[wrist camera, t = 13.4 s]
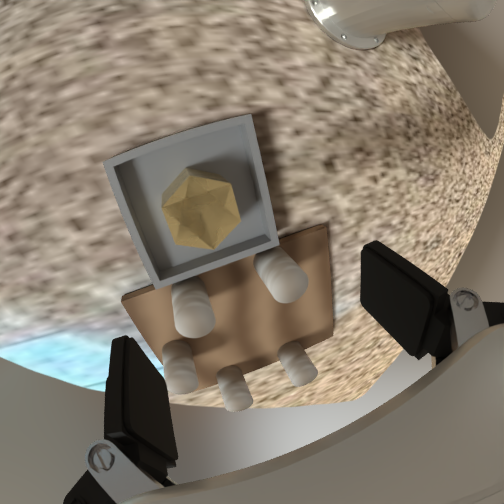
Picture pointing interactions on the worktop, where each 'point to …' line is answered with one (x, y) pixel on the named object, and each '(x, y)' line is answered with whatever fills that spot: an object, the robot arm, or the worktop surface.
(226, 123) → the tray
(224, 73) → the worktop surface
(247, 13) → the worktop surface
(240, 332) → the board
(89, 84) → the worktop surface
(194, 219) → the faceted yellow gem
